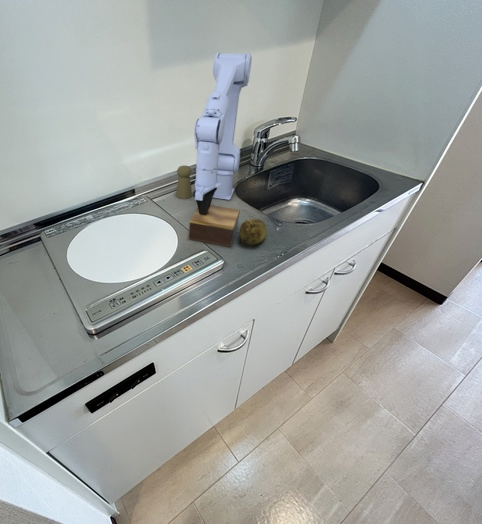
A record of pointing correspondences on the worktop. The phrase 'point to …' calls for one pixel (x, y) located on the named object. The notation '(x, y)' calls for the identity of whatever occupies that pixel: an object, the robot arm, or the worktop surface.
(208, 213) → the sliding lid
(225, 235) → the box
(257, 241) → the potato
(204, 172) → the robot arm
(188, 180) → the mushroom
